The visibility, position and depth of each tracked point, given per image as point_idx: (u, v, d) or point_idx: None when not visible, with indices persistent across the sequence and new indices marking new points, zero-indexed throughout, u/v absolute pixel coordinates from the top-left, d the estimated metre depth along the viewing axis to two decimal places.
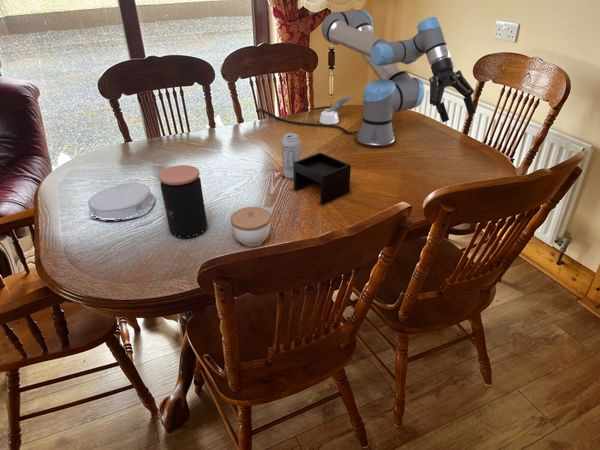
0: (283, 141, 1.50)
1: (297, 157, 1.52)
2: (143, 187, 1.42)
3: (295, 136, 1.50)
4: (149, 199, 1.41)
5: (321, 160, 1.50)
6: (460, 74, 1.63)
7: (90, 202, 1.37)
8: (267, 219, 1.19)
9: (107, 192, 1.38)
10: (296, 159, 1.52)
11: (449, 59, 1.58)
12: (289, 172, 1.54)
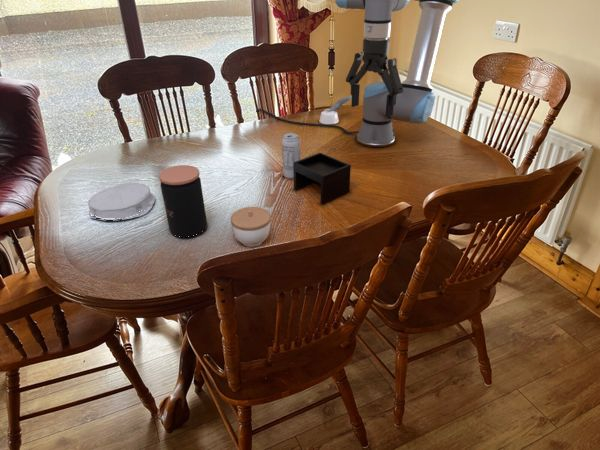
0: (283, 141, 1.50)
1: (297, 157, 1.52)
2: (143, 187, 1.42)
3: (295, 136, 1.50)
4: (149, 199, 1.41)
5: (321, 160, 1.50)
6: (389, 65, 1.28)
7: (90, 202, 1.37)
8: (267, 219, 1.19)
9: (107, 192, 1.38)
10: (296, 159, 1.52)
11: (368, 44, 1.28)
12: (289, 172, 1.54)
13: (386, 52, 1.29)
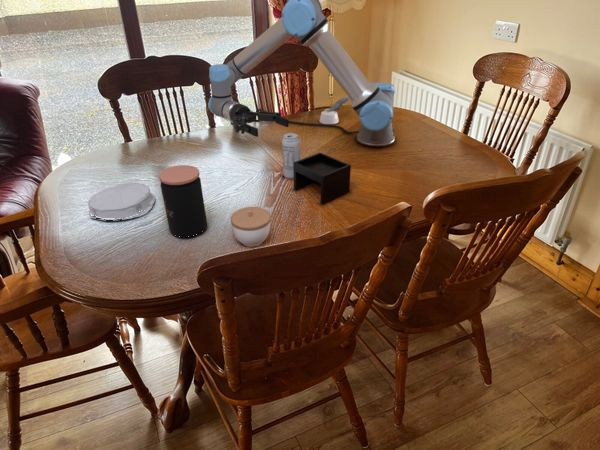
0: (283, 141, 1.50)
1: (297, 157, 1.52)
2: (143, 187, 1.42)
3: (295, 136, 1.50)
4: (149, 199, 1.41)
5: (321, 160, 1.50)
6: None
7: (90, 202, 1.37)
8: (267, 219, 1.19)
9: (107, 192, 1.38)
10: (296, 159, 1.52)
11: None
12: (289, 172, 1.54)
13: (234, 116, 1.65)
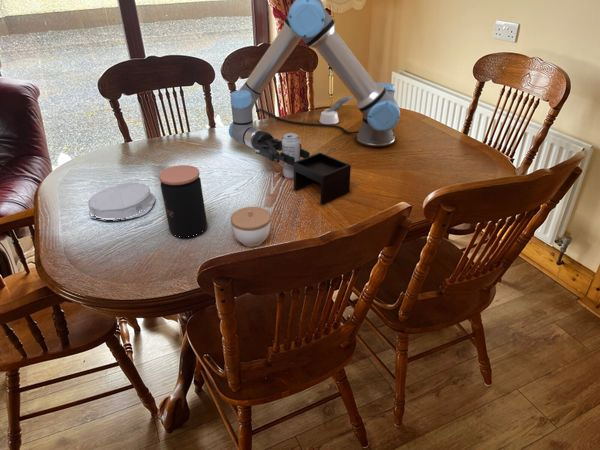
0: (283, 141, 1.50)
1: (297, 157, 1.52)
2: (143, 187, 1.42)
3: (295, 136, 1.50)
4: (149, 199, 1.41)
5: (321, 160, 1.50)
6: None
7: (90, 202, 1.37)
8: (267, 219, 1.19)
9: (107, 192, 1.38)
10: (296, 159, 1.52)
11: None
12: (289, 172, 1.54)
13: (256, 144, 1.61)
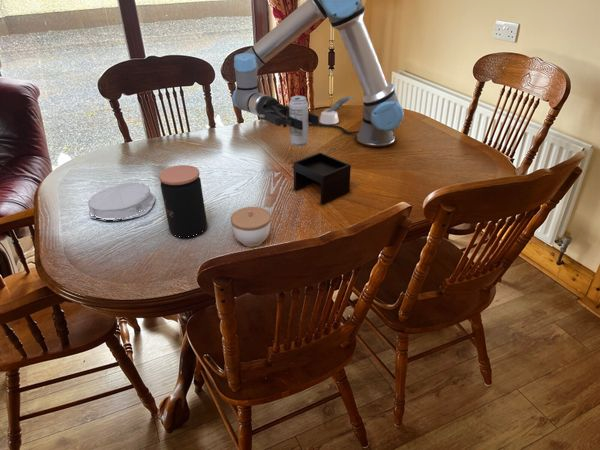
0: (290, 104, 1.40)
1: (306, 122, 1.42)
2: (143, 187, 1.42)
3: (303, 98, 1.40)
4: (149, 199, 1.41)
5: (321, 160, 1.50)
6: None
7: (90, 202, 1.37)
8: (267, 219, 1.19)
9: (107, 192, 1.38)
10: (304, 124, 1.42)
11: None
12: (296, 138, 1.44)
13: (262, 110, 1.51)
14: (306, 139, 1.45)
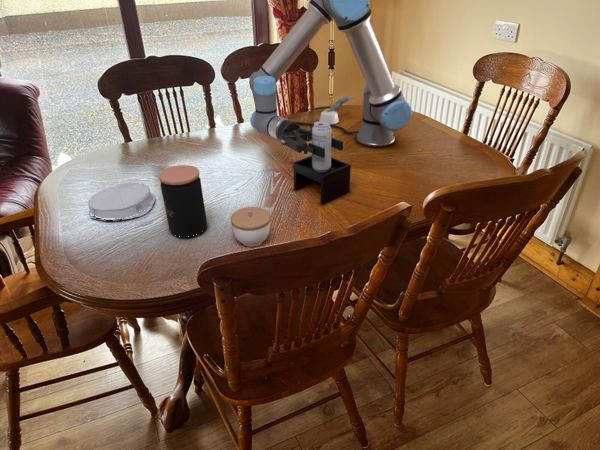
0: (314, 130, 1.36)
1: (329, 148, 1.38)
2: (143, 187, 1.42)
3: (327, 124, 1.36)
4: (149, 199, 1.41)
5: None
6: None
7: (90, 202, 1.37)
8: (267, 219, 1.19)
9: (107, 192, 1.38)
10: (327, 150, 1.38)
11: None
12: (319, 164, 1.40)
13: (282, 134, 1.47)
14: (329, 165, 1.42)
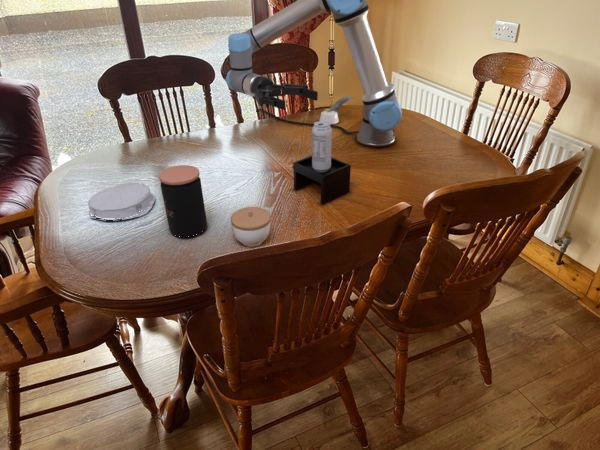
0: (314, 130, 1.36)
1: (329, 148, 1.38)
2: (143, 187, 1.42)
3: (327, 124, 1.36)
4: (149, 199, 1.41)
5: None
6: None
7: (90, 202, 1.37)
8: (267, 219, 1.19)
9: (107, 192, 1.38)
10: (327, 150, 1.38)
11: None
12: (319, 164, 1.40)
13: (256, 90, 1.49)
14: (329, 165, 1.42)
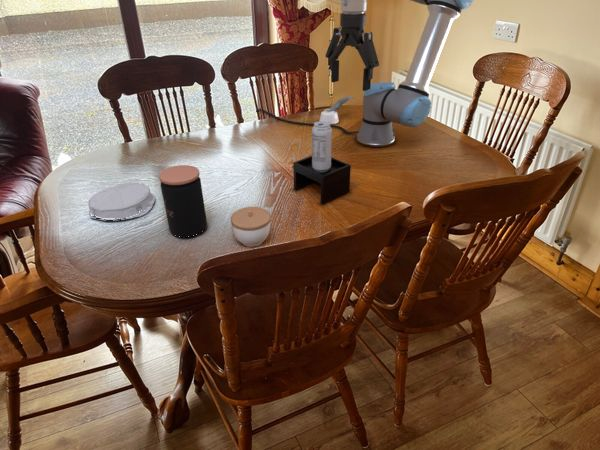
0: (314, 130, 1.36)
1: (329, 148, 1.38)
2: (143, 187, 1.42)
3: (327, 124, 1.36)
4: (149, 199, 1.41)
5: None
6: (365, 38, 1.31)
7: (90, 202, 1.37)
8: (267, 219, 1.19)
9: (107, 192, 1.38)
10: (327, 150, 1.38)
11: (345, 18, 1.30)
12: (319, 164, 1.40)
13: (362, 26, 1.32)
14: (329, 165, 1.42)
